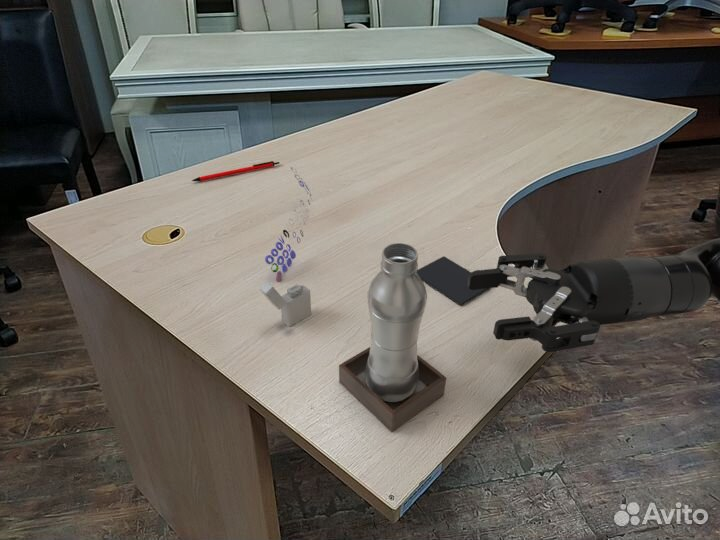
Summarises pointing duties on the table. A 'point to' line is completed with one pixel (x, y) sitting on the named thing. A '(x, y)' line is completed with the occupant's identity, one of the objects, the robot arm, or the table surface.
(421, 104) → the table surface
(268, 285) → the lighter
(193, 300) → the table surface
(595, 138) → the table surface
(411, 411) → the bottle stand
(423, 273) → the mat
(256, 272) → the table surface
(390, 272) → the silver metal bottle
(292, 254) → the ring set
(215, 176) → the pen
